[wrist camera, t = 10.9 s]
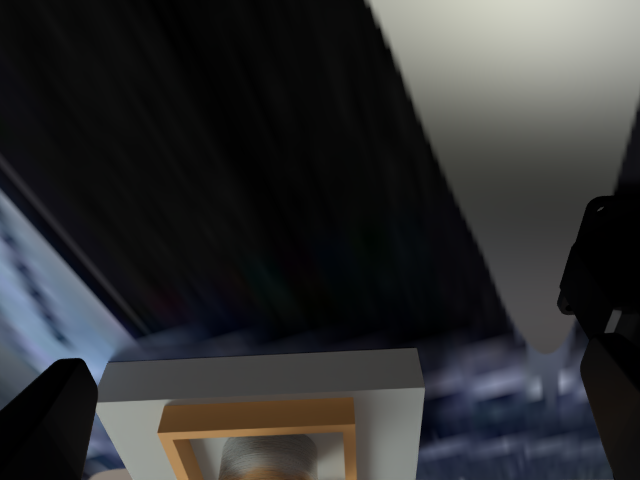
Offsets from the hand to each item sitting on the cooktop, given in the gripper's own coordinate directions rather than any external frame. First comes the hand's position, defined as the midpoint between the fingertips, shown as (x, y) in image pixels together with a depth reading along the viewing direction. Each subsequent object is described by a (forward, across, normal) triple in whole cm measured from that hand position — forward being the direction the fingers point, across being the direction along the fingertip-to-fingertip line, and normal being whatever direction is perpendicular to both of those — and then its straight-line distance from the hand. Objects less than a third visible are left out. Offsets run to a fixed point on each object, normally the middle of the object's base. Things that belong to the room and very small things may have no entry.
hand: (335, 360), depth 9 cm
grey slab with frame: (+12, +4, +19) cm, 23 cm away
